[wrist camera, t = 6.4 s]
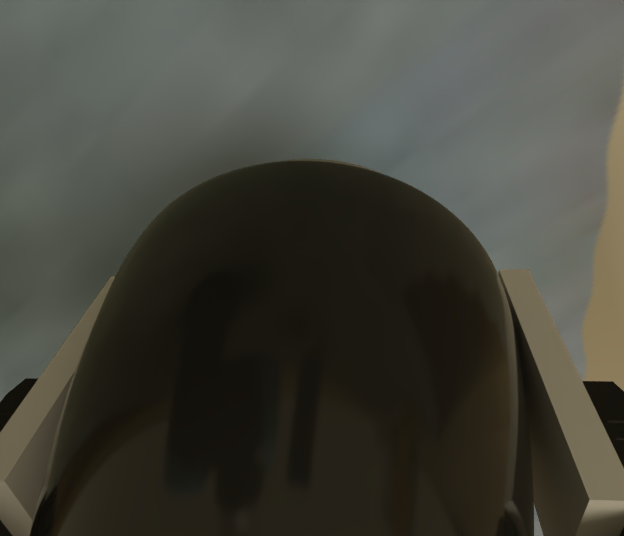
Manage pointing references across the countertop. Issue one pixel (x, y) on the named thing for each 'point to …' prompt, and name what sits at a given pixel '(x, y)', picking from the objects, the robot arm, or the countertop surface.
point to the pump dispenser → (297, 372)
